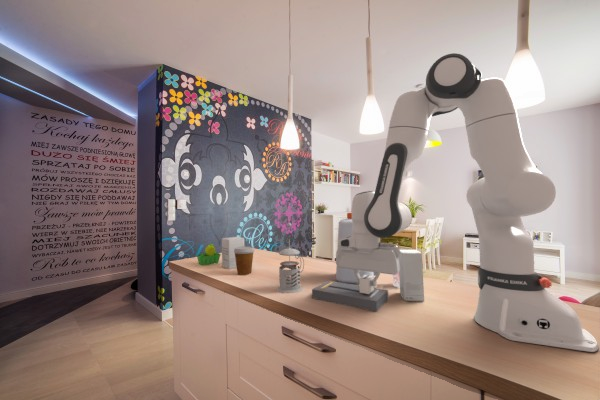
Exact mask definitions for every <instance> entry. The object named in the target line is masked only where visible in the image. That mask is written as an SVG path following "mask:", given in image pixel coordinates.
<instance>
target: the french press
mask: <svg viewBox="0 0 600 400" xmlns="http://www.w3.org/2000/svg"><path fill="white" fill-rule="evenodd" d="M290 226H291V227H292V223H291V222H286V227H290ZM290 243H291V242H290V240H288V248H284V249H282V250H280V251H279V252H278V254H279V255H280V256H284V257H285V256H286V257H288V258H289V260H288V261H281V262H280V263H279V264H280V266H279V271H278V273H279V278H278V279H279V286H278V287H277V288H276V291H278V293H282V294H295V293H300V292H301V291H303V289H304V288H303V287H302V286H301V273H303V271H304V268H305V259H304V257H303V256H302V255H301V252H300V251H299V250H298V249H296V248H291V247H290V246H291V245H290ZM291 256H295V259H297V260H298V259H299V261H300V262H302V261H303V265H300V266H299V264H300V263H299V262H298V261H291V258H290V257H291ZM301 258H302V259H301ZM302 266H303V267H302ZM301 268H302V270H301Z"/></svg>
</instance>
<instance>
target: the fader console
mask: <svg viewBox="0 0 600 400" xmlns="http://www.w3.org/2000/svg"><path fill="white" fill-rule="evenodd" d="M311 298H312V299H315V300H319V301H324V302H329V303H334V304H338V305H343V306H347V307H353V308H356V309H362V310H367V311H371V312H376V313H377V312H378V311H379V310H380V309H381V308H382V306H384V305H385V303H386V302H387V301H388V299H389V291H388V289H383V288H377V287H374V290H373V291H372V292H371V293H370V294H365V293H360V286H359V284H354V283H343V282H339V281H334V280H327V281H324V282H323V283H321V284H319V285H318V286H315V287H314V288H312V289H311Z"/></svg>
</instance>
